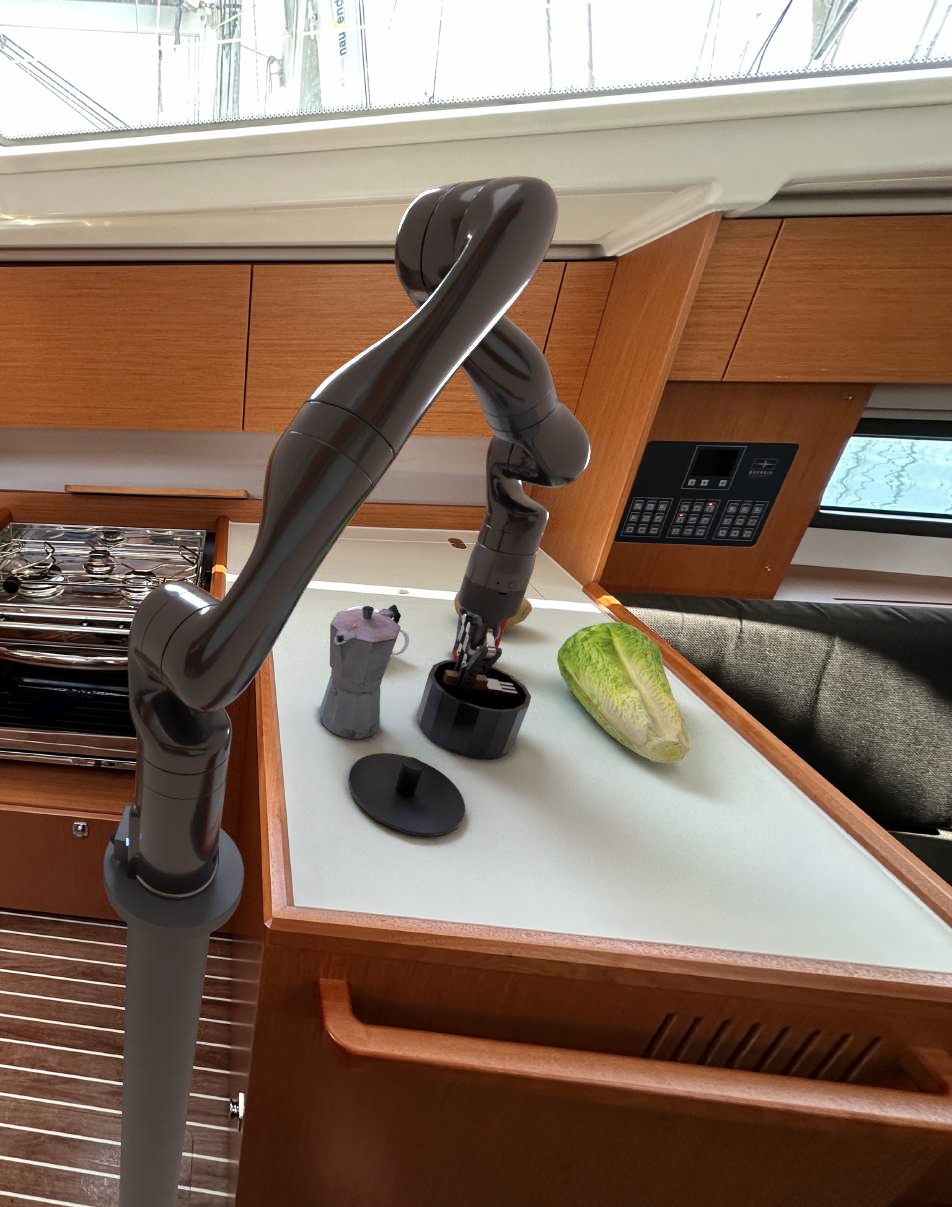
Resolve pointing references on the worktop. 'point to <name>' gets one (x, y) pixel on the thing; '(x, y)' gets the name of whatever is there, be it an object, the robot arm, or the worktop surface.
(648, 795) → the worktop surface
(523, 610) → the potato
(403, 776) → the pot lid
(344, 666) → the moka pot
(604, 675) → the lettuce
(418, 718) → the pot
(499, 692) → the fork
